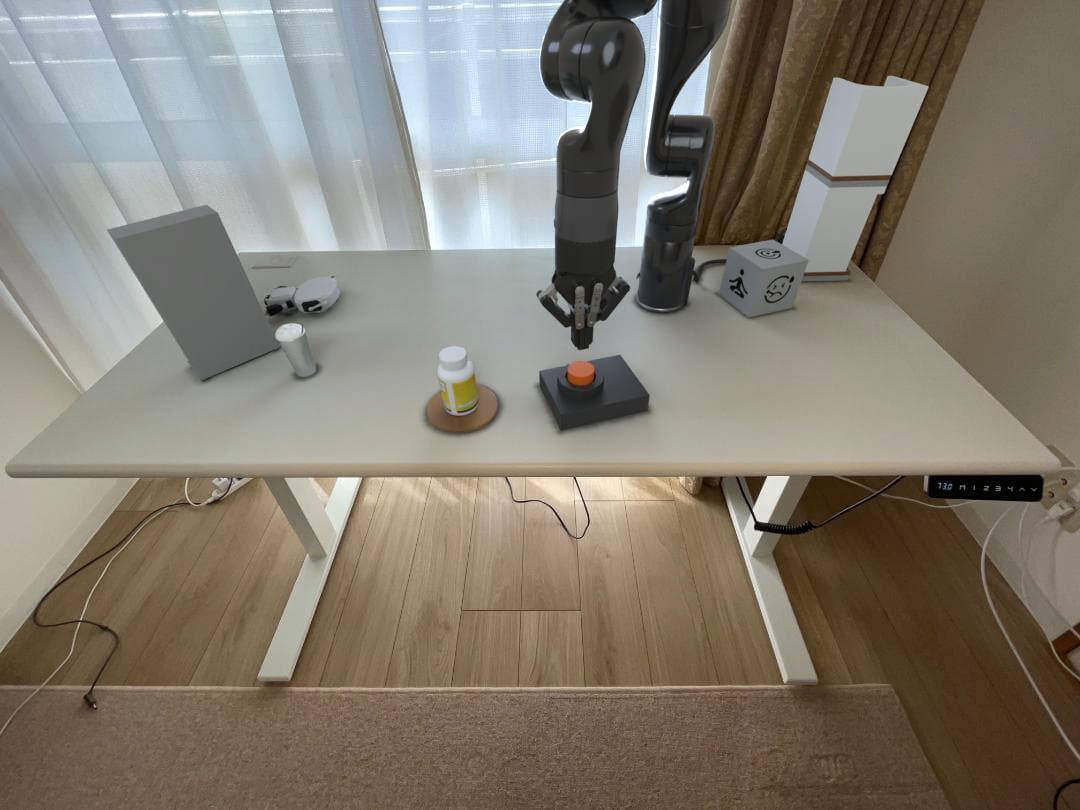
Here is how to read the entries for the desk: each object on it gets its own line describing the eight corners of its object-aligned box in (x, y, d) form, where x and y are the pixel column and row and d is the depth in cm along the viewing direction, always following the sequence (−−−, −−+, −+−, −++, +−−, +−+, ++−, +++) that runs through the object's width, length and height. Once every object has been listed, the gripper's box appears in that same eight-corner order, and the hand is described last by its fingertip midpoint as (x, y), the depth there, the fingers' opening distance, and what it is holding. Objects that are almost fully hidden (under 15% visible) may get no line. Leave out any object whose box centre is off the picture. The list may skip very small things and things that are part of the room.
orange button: (588, 367, 76) (588, 358, 75) (597, 383, 73) (598, 373, 72) (563, 372, 75) (564, 363, 74) (572, 388, 72) (572, 379, 71)
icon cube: (759, 285, 104) (773, 239, 97) (791, 307, 96) (808, 260, 90) (718, 293, 101) (729, 247, 95) (748, 317, 94) (762, 269, 88)
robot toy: (262, 330, 97) (337, 318, 98) (251, 310, 94) (328, 298, 95) (279, 299, 107) (347, 289, 107) (269, 280, 104) (339, 270, 104)
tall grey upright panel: (268, 335, 94) (205, 203, 78) (281, 348, 91) (218, 212, 74) (190, 367, 87) (104, 228, 71) (201, 381, 84) (113, 239, 67)
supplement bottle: (484, 397, 78) (477, 346, 71) (470, 420, 74) (461, 368, 67) (454, 391, 79) (444, 340, 72) (438, 412, 75) (426, 361, 69)
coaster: (489, 381, 82) (489, 378, 81) (505, 424, 74) (504, 421, 73) (423, 394, 80) (423, 391, 79) (432, 440, 72) (431, 437, 71)
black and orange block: (618, 369, 83) (621, 345, 80) (647, 410, 75) (651, 385, 72) (539, 386, 80) (538, 361, 77) (560, 430, 72) (560, 405, 69)
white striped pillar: (847, 280, 104) (928, 86, 81) (796, 281, 104) (863, 88, 81) (824, 257, 113) (892, 75, 90) (777, 258, 113) (833, 77, 90)
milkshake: (315, 381, 83) (294, 331, 76) (287, 378, 84) (264, 328, 77) (329, 365, 86) (310, 316, 80) (302, 362, 87) (281, 313, 80)
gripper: (542, 247, 55) (545, 370, 66) (649, 231, 58) (635, 352, 69) (524, 223, 60) (530, 341, 72) (623, 209, 63) (614, 325, 74)
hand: (581, 346), depth 70 cm, fingers closed
